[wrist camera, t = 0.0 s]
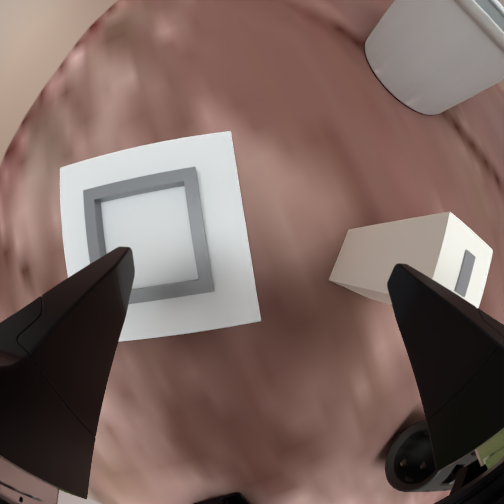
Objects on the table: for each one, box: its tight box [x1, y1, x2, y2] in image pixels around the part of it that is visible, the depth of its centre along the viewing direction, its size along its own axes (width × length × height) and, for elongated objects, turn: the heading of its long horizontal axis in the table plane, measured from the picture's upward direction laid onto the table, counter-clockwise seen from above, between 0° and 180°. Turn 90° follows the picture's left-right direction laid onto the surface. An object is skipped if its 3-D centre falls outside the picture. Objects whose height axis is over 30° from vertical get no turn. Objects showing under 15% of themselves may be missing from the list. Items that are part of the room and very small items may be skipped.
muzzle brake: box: [385, 421, 478, 492], centre depth 22 cm, size 10×28×10 cm, turn 58°
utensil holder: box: [365, 0, 504, 115], centre depth 18 cm, size 15×15×18 cm
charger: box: [329, 212, 493, 308], centre depth 19 cm, size 5×5×13 cm
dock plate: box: [60, 131, 261, 342], centre depth 21 cm, size 16×16×3 cm
